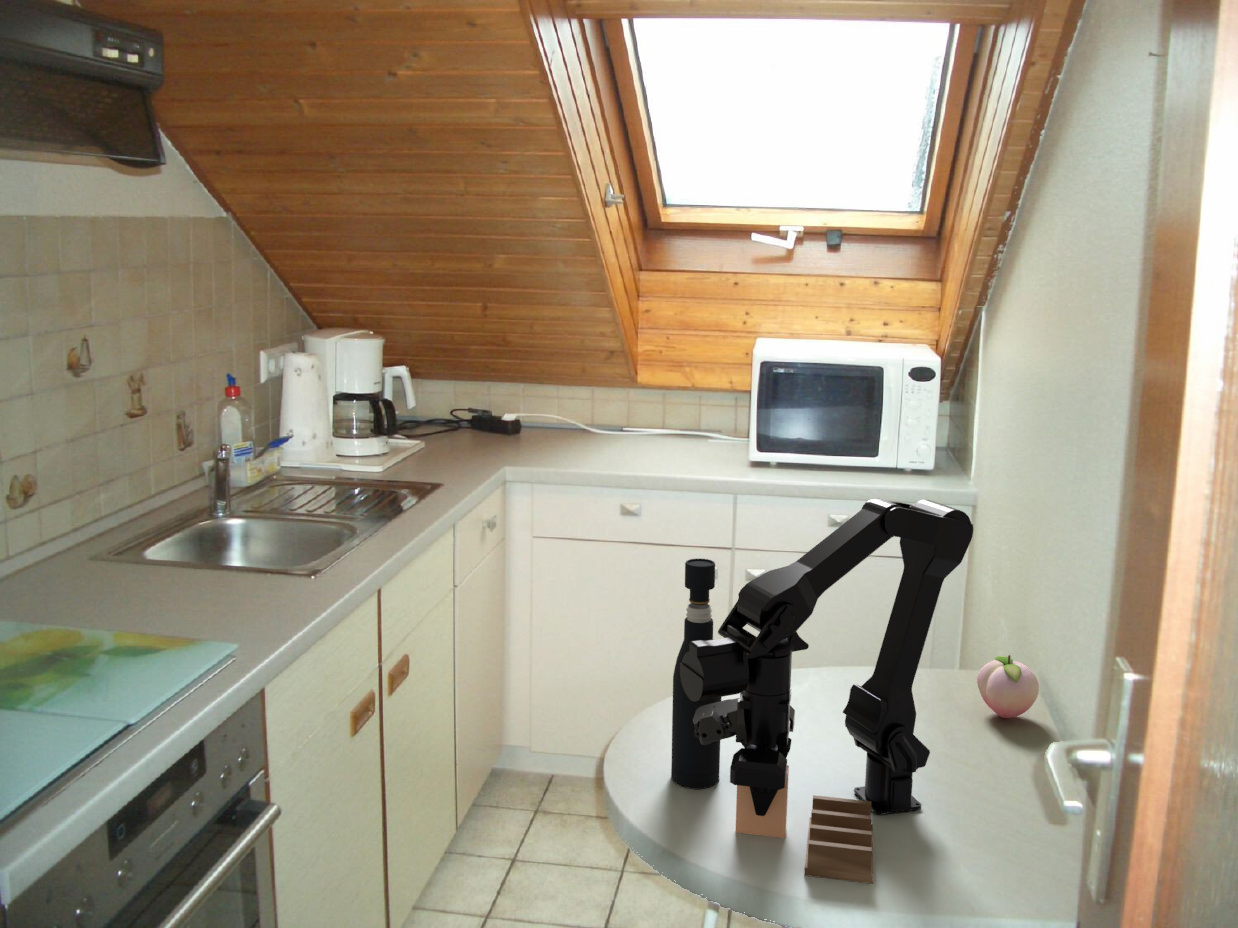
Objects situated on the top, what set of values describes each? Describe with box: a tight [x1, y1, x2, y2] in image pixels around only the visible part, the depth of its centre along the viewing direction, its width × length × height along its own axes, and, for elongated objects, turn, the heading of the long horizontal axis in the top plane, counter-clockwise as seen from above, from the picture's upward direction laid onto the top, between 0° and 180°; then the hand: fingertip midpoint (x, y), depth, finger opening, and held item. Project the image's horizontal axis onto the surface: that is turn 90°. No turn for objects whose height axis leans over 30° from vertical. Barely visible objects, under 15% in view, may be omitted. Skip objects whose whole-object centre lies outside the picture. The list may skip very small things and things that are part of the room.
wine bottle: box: [670, 558, 722, 790], centre depth 149 cm, size 6×6×30 cm
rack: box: [803, 794, 874, 884], centre depth 134 cm, size 12×8×4 cm, turn 168°
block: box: [735, 764, 790, 839], centre depth 138 cm, size 2×6×8 cm, turn 78°
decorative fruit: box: [976, 654, 1040, 719], centre depth 171 cm, size 9×8×10 cm
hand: (761, 807), depth 138 cm, fingers open, 4 cm apart
